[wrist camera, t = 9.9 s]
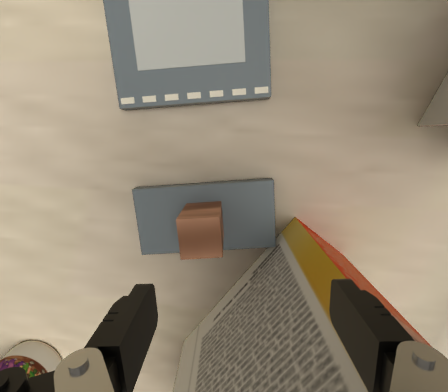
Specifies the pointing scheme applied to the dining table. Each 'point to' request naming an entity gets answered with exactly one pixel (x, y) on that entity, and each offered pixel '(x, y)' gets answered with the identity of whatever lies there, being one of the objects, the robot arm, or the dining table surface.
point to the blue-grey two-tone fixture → (205, 217)
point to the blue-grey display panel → (189, 51)
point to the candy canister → (31, 358)
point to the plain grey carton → (437, 107)
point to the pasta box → (278, 325)
